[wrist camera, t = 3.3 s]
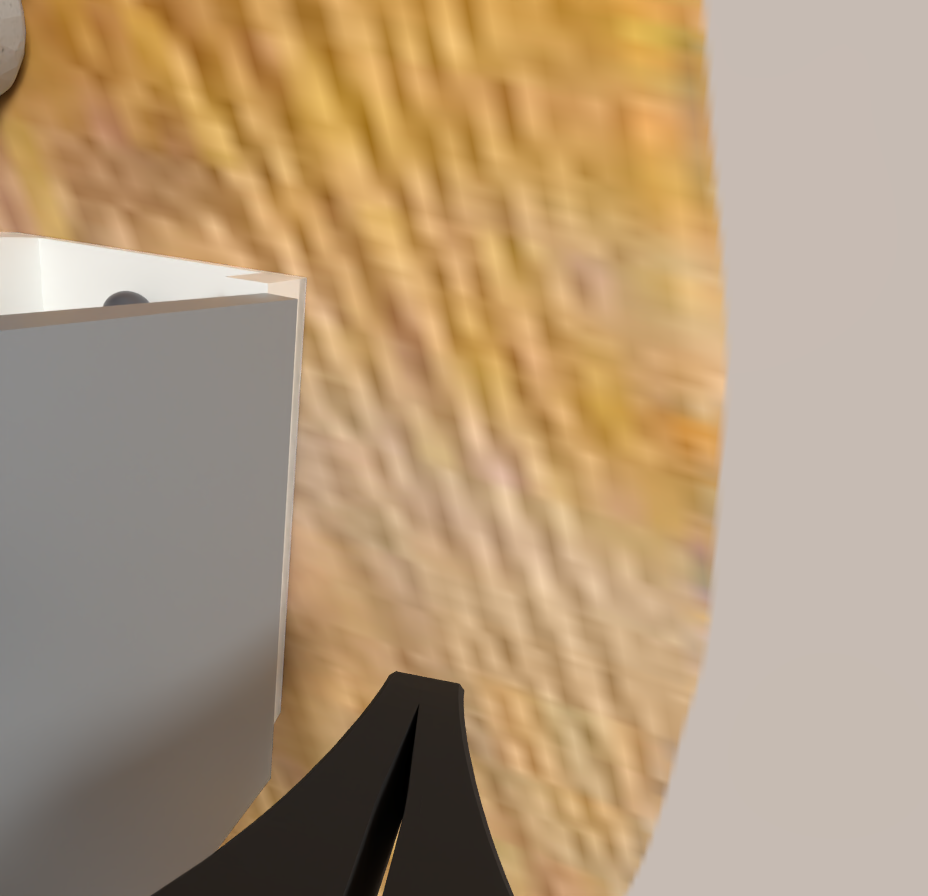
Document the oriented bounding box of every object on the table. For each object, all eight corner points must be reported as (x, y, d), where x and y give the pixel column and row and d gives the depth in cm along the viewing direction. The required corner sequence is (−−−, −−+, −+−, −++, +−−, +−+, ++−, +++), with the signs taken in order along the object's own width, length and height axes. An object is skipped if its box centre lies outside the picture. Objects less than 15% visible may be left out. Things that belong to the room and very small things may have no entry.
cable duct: (280, 712, 21) (247, 771, 19) (51, 665, 22) (-9, 718, 19) (306, 277, 17) (267, 283, 14) (17, 232, 17) (-67, 230, 15)
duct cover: (246, 768, 19) (270, 778, 18) (-27, 1105, 11) (10, 1125, 11) (265, 292, 14) (297, 298, 14) (-160, 329, 7) (-104, 342, 7)
